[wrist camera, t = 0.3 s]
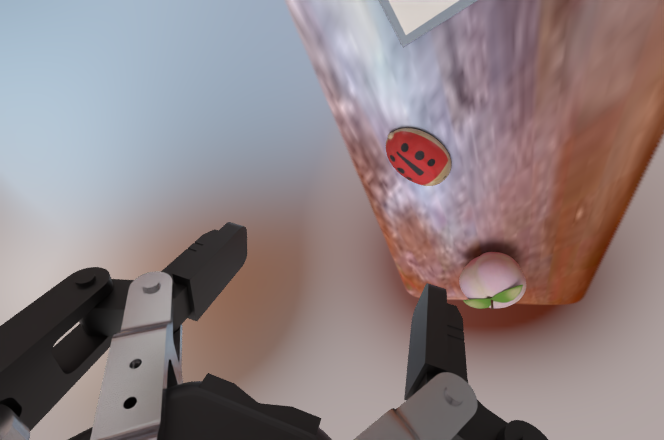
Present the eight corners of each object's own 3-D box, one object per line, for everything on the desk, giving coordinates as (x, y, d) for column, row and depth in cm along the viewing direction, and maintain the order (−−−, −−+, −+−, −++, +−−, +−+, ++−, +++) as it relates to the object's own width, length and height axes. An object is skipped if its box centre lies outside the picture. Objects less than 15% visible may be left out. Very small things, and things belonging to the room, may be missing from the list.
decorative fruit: (489, 276, 55) (490, 329, 48) (452, 254, 53) (448, 306, 47) (538, 255, 47) (546, 314, 41) (496, 229, 46) (498, 286, 40)
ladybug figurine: (428, 186, 45) (425, 202, 42) (374, 146, 42) (368, 161, 40) (465, 158, 40) (464, 176, 37) (406, 112, 37) (401, 127, 35)
